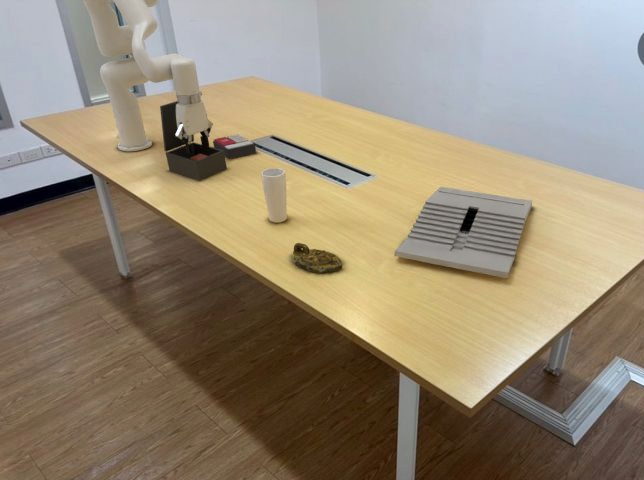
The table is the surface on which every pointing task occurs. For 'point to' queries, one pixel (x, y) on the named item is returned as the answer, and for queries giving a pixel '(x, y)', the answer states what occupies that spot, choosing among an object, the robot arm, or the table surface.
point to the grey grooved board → (467, 231)
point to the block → (198, 157)
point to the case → (196, 162)
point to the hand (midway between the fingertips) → (198, 150)
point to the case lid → (170, 127)
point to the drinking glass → (275, 193)
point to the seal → (315, 259)
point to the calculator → (234, 146)
